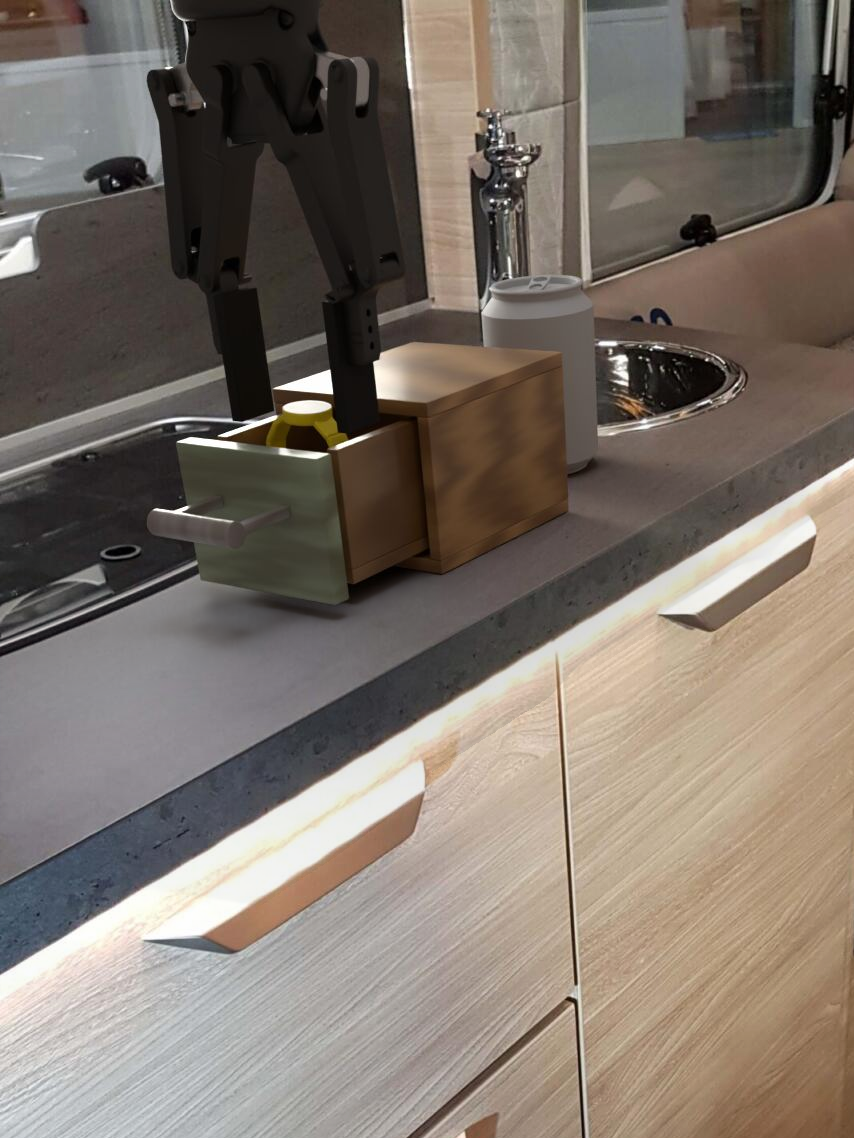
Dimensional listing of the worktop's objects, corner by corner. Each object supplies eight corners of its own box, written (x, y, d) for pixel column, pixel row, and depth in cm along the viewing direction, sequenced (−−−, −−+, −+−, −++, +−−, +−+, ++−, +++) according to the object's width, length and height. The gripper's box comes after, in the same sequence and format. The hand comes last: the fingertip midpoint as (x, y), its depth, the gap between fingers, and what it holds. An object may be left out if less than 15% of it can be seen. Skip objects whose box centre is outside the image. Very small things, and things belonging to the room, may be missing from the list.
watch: (262, 511, 90) (248, 404, 86) (296, 499, 91) (284, 394, 88) (336, 528, 87) (325, 418, 83) (370, 516, 88) (361, 407, 85)
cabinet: (442, 574, 91) (426, 402, 85) (295, 550, 97) (271, 388, 91) (569, 510, 99) (562, 351, 94) (427, 492, 105) (413, 341, 100)
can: (478, 480, 107) (464, 291, 100) (510, 451, 113) (498, 271, 106) (583, 481, 105) (575, 289, 98) (609, 452, 111) (604, 268, 104)
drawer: (273, 636, 81) (249, 485, 77) (136, 608, 87) (106, 465, 82) (469, 540, 93) (458, 404, 88) (338, 520, 98) (322, 391, 94)
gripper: (453, -104, 71) (489, 419, 83) (147, -68, 81) (222, 393, 94) (348, -101, 66) (404, 454, 79) (37, -63, 76) (131, 423, 89)
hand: (305, 420), depth 86 cm, fingers open, 7 cm apart
